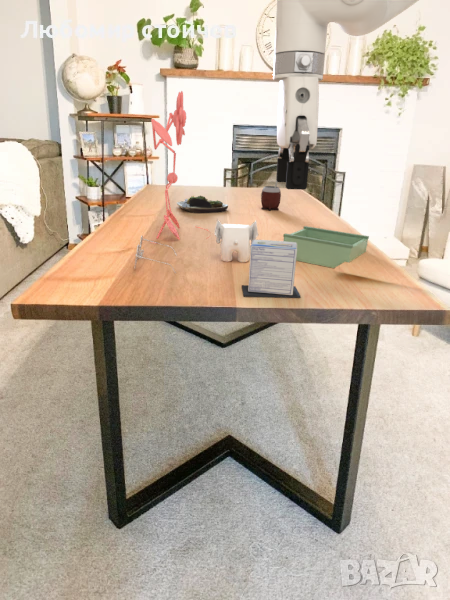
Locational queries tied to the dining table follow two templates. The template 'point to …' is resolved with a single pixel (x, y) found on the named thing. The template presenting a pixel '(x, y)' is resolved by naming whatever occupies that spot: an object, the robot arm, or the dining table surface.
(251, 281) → the medicine box
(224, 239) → the elephant figurine
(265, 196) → the mate gourd
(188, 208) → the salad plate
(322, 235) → the basket
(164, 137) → the figurine
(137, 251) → the sunglasses
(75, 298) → the dining table surface
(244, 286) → the mat
